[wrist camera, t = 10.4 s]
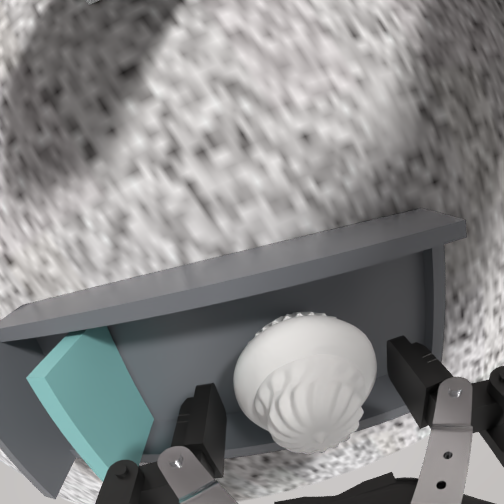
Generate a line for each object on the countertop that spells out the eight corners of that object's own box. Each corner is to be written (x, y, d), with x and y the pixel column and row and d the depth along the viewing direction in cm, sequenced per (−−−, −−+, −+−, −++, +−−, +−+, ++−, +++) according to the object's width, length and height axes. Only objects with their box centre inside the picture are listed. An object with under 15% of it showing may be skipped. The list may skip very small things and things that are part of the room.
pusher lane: (421, 208, 15) (529, 239, 7) (426, 358, 17) (489, 434, 10) (22, 305, 16) (-55, 363, 8) (84, 421, 18) (45, 496, 11)
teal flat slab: (101, 313, 15) (44, 377, 9) (154, 418, 17) (130, 492, 11) (84, 317, 15) (25, 378, 9) (137, 419, 17) (111, 490, 11)
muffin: (290, 400, 17) (307, 499, 10) (210, 340, 15) (190, 446, 9) (374, 333, 15) (432, 421, 9) (300, 257, 14) (342, 336, 7)
